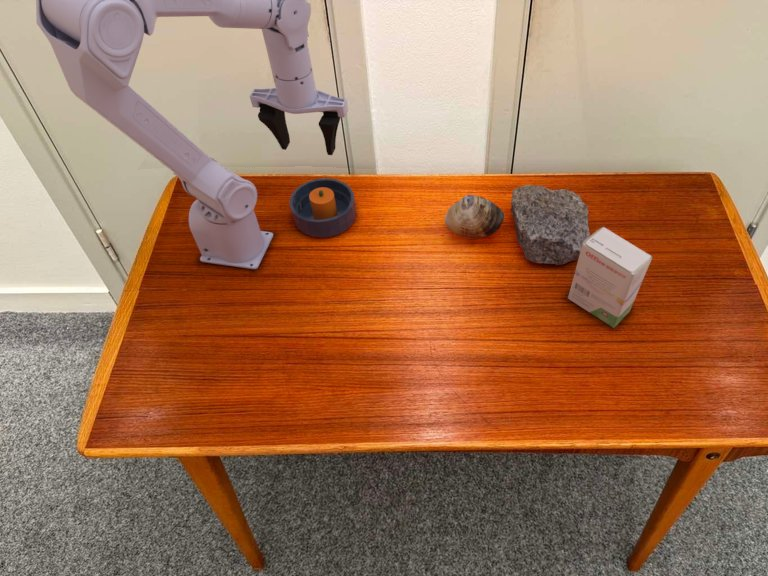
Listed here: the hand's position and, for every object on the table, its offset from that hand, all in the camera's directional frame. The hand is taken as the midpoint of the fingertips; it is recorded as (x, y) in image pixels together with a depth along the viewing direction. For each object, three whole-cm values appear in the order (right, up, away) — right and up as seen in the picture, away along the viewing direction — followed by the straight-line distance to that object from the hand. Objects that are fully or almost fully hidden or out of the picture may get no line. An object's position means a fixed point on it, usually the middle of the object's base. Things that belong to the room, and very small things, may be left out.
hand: (308, 148), depth 101 cm
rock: (+39, -14, +2) cm, 41 cm away
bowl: (+2, -10, +4) cm, 11 cm away
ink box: (+45, -26, -6) cm, 52 cm away
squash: (+2, -10, +4) cm, 11 cm away
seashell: (+27, -14, +2) cm, 30 cm away
